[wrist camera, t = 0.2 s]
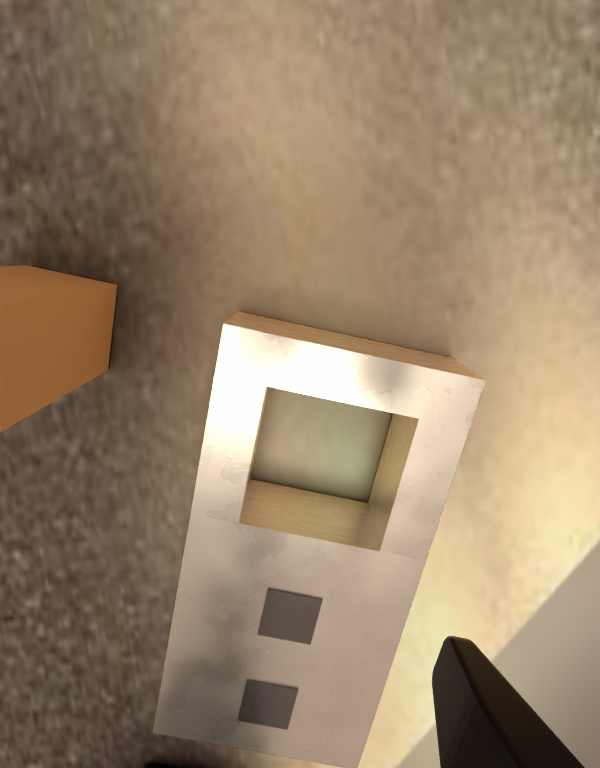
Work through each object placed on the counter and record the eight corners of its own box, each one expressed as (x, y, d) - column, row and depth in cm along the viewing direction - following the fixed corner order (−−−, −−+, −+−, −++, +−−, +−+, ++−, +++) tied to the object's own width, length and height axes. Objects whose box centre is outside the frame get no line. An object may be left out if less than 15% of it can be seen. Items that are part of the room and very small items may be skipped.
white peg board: (349, 695, 27) (356, 772, 23) (175, 663, 26) (152, 735, 22) (453, 358, 22) (486, 381, 18) (238, 311, 21) (222, 323, 17)
